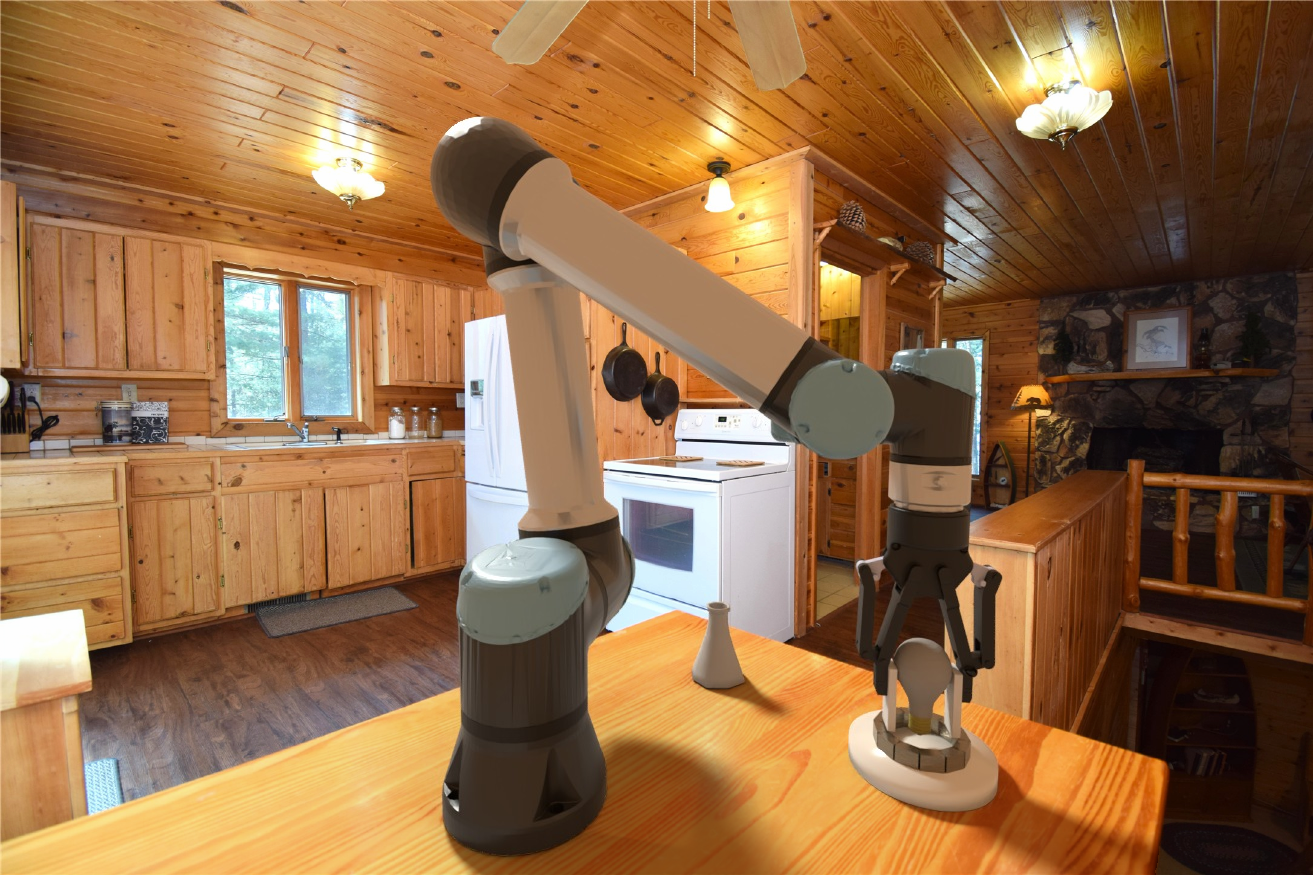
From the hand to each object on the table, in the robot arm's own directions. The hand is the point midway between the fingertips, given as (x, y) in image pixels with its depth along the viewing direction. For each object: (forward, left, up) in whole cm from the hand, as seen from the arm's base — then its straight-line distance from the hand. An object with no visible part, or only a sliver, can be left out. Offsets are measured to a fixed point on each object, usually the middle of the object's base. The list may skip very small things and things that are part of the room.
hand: (919, 726), depth 60 cm
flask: (-22, +15, -4) cm, 27 cm away
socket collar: (0, 0, -2) cm, 2 cm away
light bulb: (0, 0, -1) cm, 1 cm away
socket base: (0, 0, -4) cm, 4 cm away
